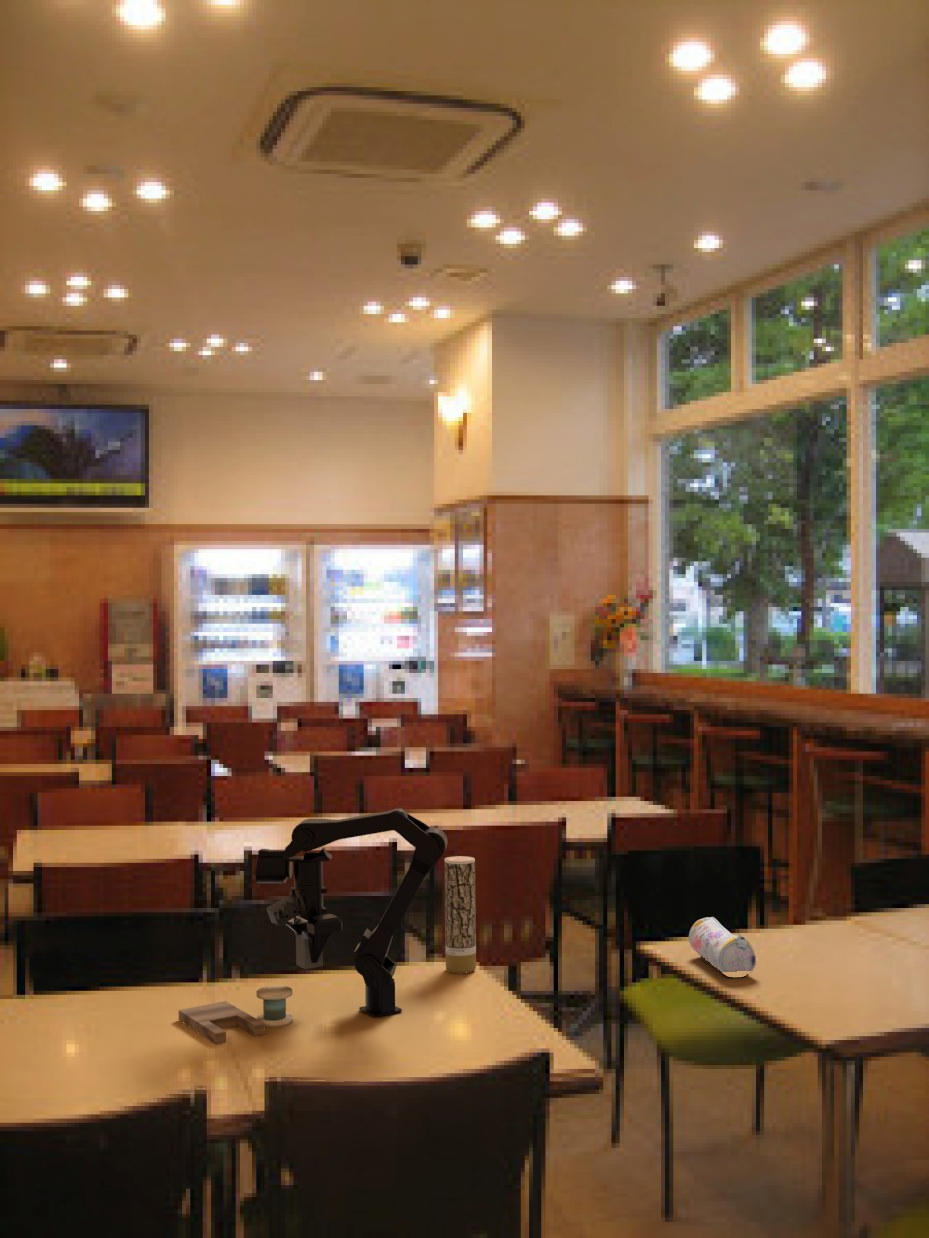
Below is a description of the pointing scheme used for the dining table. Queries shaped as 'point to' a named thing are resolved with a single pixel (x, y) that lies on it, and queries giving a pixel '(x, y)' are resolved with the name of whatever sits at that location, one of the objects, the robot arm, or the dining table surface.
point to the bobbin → (274, 1005)
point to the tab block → (305, 953)
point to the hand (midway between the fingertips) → (309, 960)
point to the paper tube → (460, 914)
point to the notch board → (219, 1020)
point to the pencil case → (721, 946)
